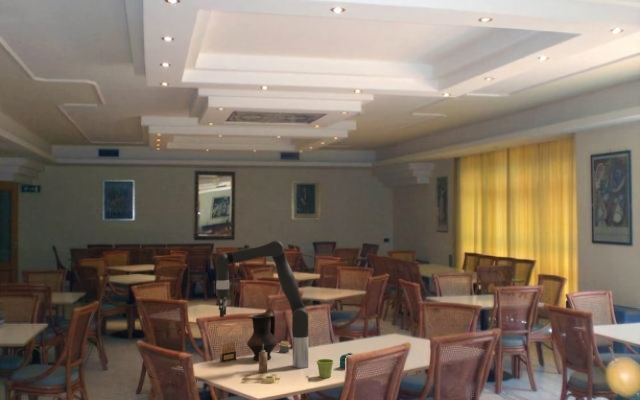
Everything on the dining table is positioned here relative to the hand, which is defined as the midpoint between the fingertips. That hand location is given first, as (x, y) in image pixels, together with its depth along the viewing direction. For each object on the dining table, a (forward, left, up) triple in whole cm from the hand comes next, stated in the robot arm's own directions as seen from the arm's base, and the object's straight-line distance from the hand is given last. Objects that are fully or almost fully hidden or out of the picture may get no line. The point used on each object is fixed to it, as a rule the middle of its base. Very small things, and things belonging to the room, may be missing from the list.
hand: (223, 315), depth 372 cm
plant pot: (-59, +24, -30) cm, 70 cm away
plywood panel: (-25, +32, -29) cm, 50 cm away
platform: (-34, -39, -30) cm, 60 cm away
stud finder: (-30, +37, -28) cm, 55 cm away
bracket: (-77, +6, -30) cm, 83 cm away
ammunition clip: (-1, -14, -30) cm, 33 cm away
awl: (-25, +19, -29) cm, 43 cm away
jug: (-22, -20, -29) cm, 41 cm away
